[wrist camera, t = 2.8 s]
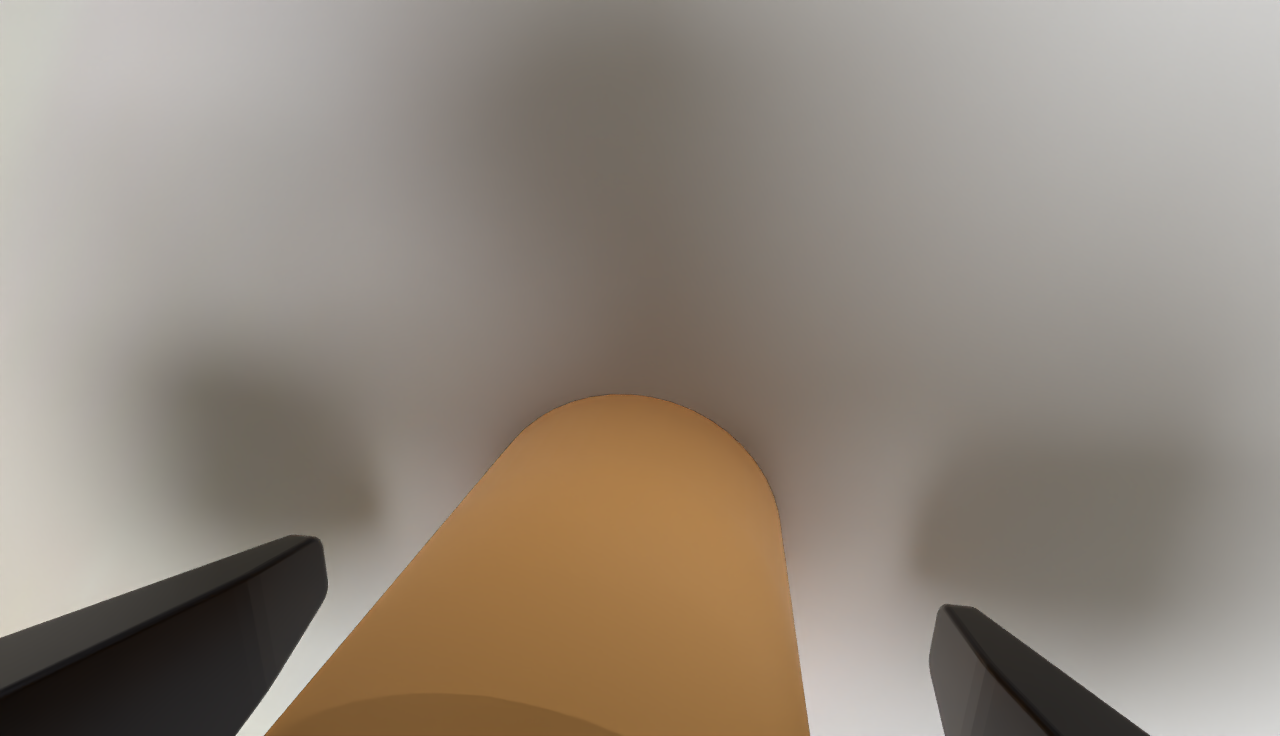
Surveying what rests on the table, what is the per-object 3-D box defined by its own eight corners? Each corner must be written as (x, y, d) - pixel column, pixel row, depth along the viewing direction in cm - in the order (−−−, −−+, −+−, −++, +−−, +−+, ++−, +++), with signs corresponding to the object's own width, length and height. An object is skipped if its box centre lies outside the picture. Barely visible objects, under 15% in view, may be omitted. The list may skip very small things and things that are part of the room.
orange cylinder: (493, 641, 11) (256, 1094, 6) (478, 384, 10) (144, 649, 4) (767, 675, 11) (808, 1222, 5) (795, 405, 9) (892, 749, 4)
